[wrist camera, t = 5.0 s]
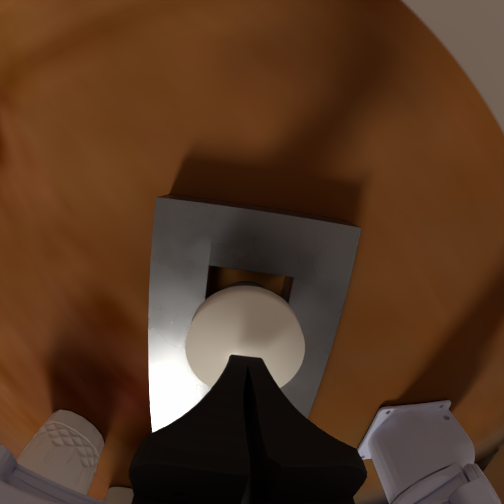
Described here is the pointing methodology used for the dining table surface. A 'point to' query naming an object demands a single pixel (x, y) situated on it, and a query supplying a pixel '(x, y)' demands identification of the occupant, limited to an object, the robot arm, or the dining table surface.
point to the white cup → (64, 451)
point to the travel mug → (119, 495)
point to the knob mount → (250, 259)
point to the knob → (244, 333)
